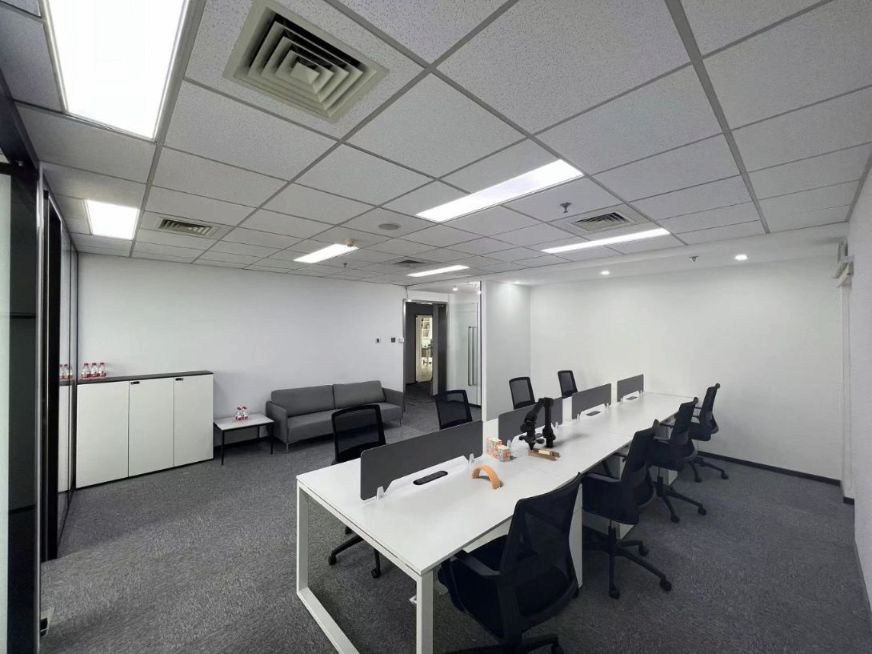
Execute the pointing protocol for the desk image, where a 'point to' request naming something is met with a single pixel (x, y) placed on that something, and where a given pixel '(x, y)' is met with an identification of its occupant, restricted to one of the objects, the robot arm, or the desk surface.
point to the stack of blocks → (497, 449)
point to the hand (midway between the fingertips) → (531, 450)
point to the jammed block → (545, 451)
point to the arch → (490, 473)
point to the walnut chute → (544, 456)
